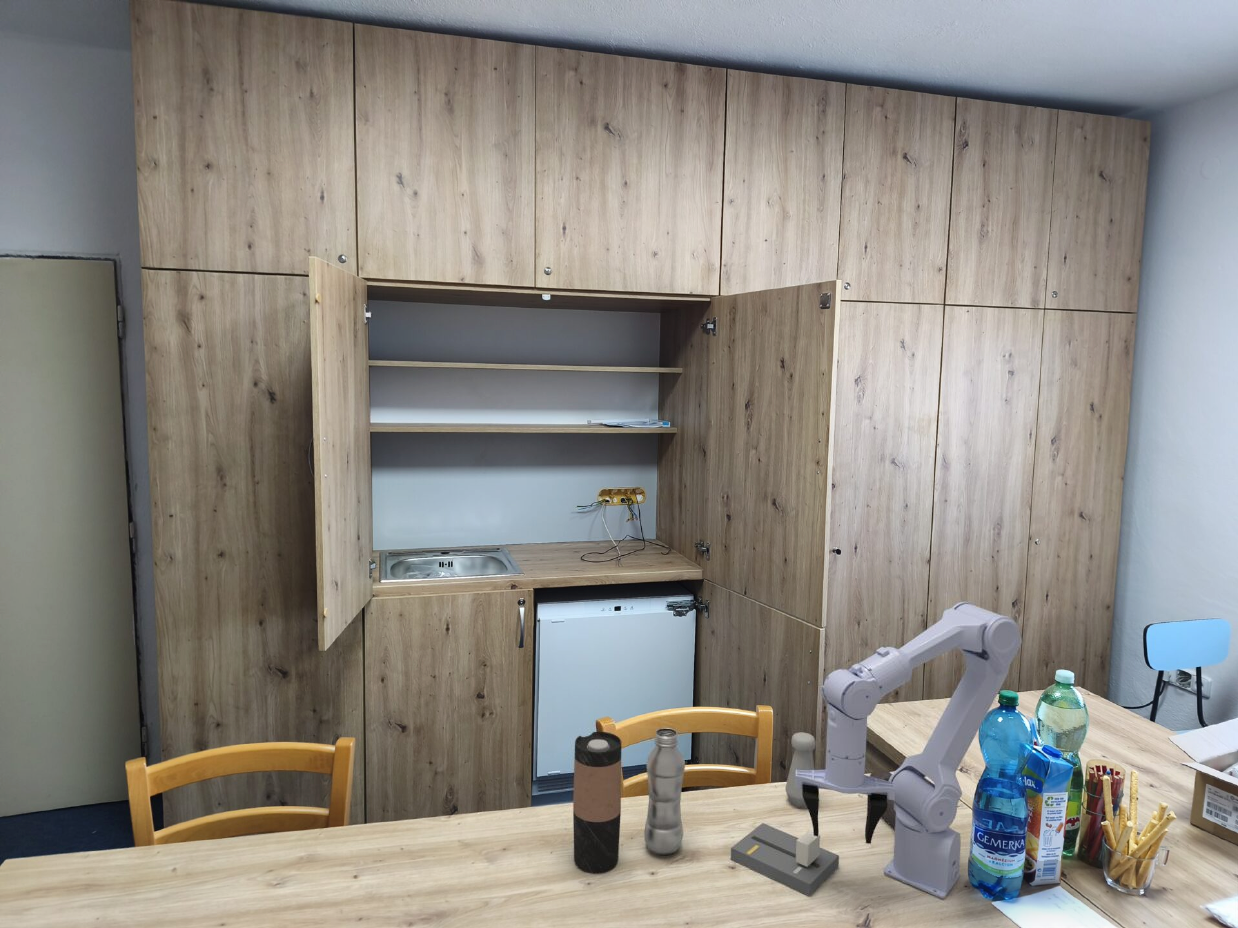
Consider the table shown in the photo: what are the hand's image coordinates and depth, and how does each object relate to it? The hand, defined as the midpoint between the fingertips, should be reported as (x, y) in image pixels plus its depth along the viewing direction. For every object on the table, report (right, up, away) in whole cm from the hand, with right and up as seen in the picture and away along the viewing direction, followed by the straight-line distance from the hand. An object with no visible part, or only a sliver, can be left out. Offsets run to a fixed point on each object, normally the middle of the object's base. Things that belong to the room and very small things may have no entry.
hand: (841, 836), depth 119 cm
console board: (-7, -8, +7) cm, 13 cm away
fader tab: (-4, -5, +4) cm, 8 cm away
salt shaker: (0, -6, +26) cm, 26 cm away
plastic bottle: (-27, -7, +10) cm, 30 cm away
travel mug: (-38, -7, +7) cm, 39 cm away
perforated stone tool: (+15, -7, +19) cm, 26 cm away
